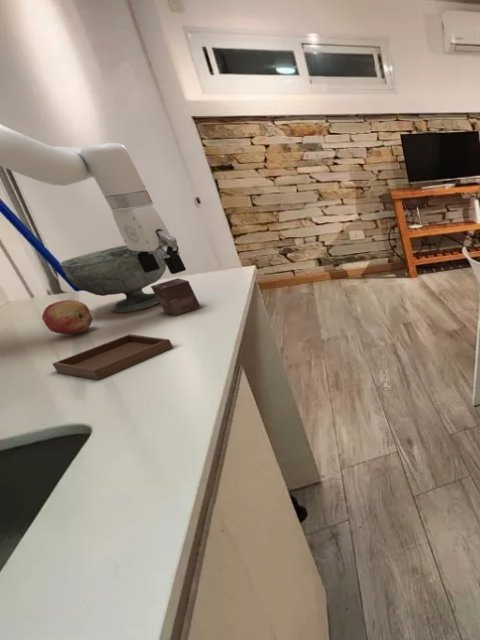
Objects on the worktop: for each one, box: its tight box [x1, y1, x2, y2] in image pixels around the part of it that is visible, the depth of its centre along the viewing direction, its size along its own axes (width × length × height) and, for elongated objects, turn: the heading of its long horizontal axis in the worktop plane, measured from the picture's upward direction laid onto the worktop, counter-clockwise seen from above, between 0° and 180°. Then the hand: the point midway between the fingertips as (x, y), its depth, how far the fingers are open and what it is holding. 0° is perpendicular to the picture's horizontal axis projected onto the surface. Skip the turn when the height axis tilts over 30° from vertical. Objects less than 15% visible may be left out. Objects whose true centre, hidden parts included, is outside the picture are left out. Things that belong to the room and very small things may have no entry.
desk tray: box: [51, 333, 174, 381], centre depth 96 cm, size 13×13×2 cm
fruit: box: [41, 299, 93, 335], centre depth 110 cm, size 8×8×8 cm
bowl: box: [59, 245, 167, 313], centre depth 123 cm, size 20×19×15 cm
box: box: [150, 278, 201, 316], centre depth 120 cm, size 6×6×7 cm
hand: (165, 271), depth 117 cm, fingers open, 9 cm apart
